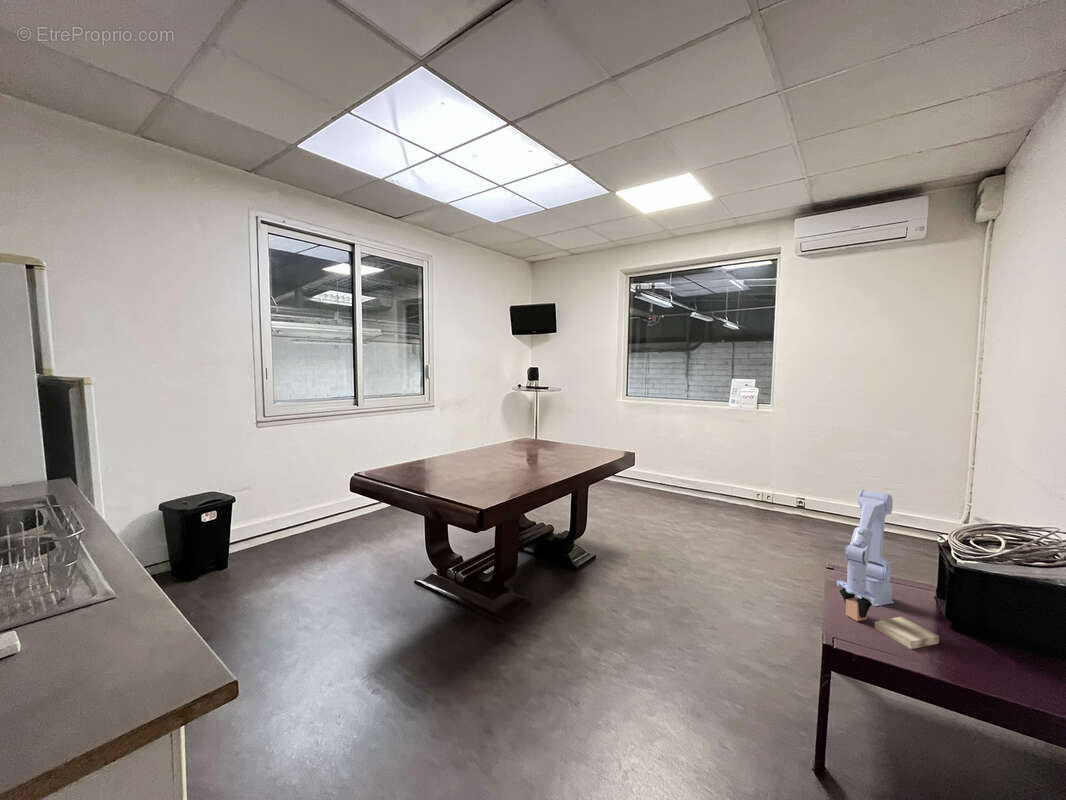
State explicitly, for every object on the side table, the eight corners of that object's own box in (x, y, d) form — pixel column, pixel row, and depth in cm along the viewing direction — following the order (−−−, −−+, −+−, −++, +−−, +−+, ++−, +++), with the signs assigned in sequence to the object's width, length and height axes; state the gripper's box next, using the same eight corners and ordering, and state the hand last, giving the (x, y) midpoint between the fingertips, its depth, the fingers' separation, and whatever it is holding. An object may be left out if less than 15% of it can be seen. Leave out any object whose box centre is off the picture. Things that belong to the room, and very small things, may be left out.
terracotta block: (855, 612, 163) (855, 597, 163) (866, 619, 159) (867, 603, 159) (845, 614, 162) (845, 599, 162) (857, 621, 158) (857, 605, 158)
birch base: (901, 624, 156) (901, 616, 156) (938, 644, 145) (939, 635, 145) (874, 629, 154) (874, 621, 154) (910, 650, 142) (910, 641, 142)
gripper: (830, 570, 166) (830, 604, 167) (867, 588, 152) (866, 625, 153) (845, 568, 167) (844, 602, 168) (883, 585, 153) (882, 622, 154)
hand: (856, 613), depth 161 cm, fingers closed on terracotta block, 4 cm apart
